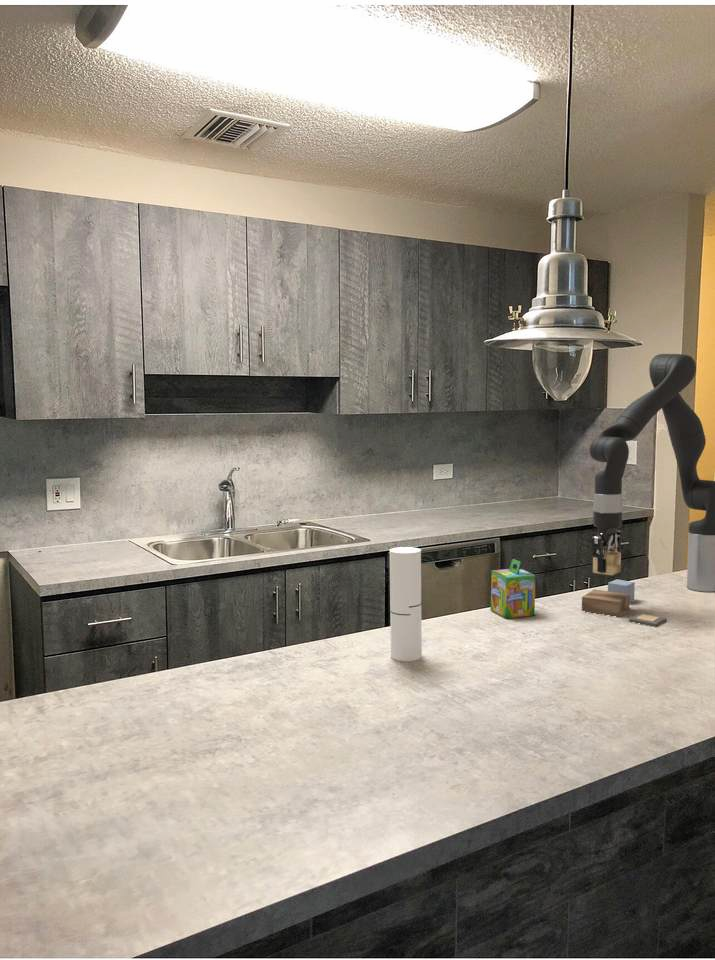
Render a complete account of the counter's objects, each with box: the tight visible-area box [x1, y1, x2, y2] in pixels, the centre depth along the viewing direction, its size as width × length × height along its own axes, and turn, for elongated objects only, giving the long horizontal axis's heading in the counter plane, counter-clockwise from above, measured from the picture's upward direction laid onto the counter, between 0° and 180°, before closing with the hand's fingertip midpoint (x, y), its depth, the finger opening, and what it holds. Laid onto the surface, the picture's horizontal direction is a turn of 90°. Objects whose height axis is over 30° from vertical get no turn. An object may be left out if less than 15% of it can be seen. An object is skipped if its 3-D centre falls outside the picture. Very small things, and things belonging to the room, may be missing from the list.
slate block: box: [607, 579, 636, 603], centre depth 221 cm, size 6×6×6 cm
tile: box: [628, 612, 667, 628], centre depth 201 cm, size 7×7×1 cm
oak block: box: [592, 551, 622, 576], centre depth 210 cm, size 6×6×6 cm
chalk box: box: [490, 558, 537, 620], centre depth 210 cm, size 9×9×15 cm
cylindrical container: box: [389, 546, 423, 662], centre depth 176 cm, size 7×7×25 cm
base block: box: [581, 588, 631, 618], centre depth 212 cm, size 10×10×4 cm
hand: (606, 570), depth 211 cm, fingers closed on oak block, 5 cm apart
